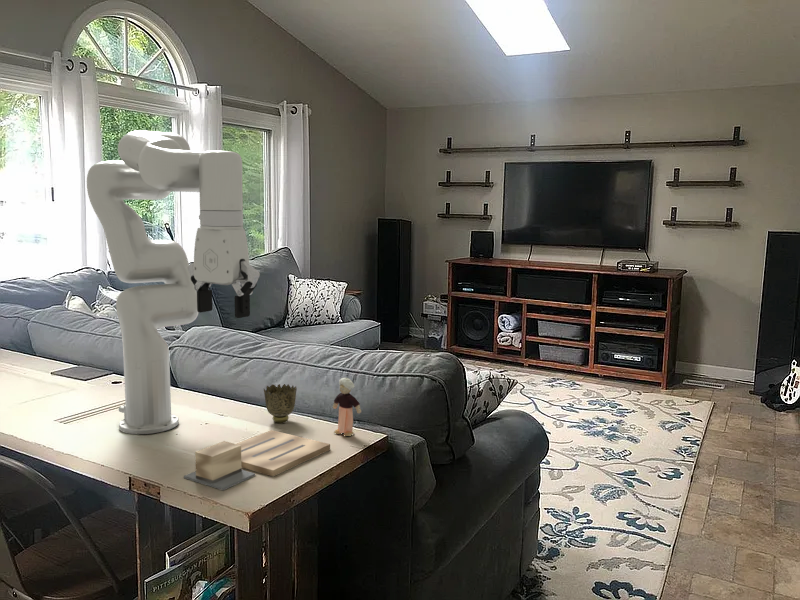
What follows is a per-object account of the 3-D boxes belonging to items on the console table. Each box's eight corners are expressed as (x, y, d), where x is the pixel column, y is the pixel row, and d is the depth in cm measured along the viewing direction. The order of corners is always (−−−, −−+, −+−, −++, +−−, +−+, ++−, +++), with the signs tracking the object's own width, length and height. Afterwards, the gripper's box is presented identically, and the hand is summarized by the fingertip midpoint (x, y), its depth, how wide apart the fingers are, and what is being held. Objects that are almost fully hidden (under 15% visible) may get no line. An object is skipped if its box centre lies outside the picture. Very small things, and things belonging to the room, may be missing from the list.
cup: (290, 427, 156) (289, 392, 155) (259, 425, 158) (258, 390, 157) (301, 417, 164) (301, 384, 162) (271, 415, 165) (271, 382, 164)
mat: (183, 477, 127) (183, 475, 127) (216, 464, 134) (216, 462, 134) (222, 490, 122) (222, 488, 122) (255, 475, 129) (255, 473, 128)
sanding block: (195, 478, 126) (195, 451, 125) (224, 466, 132) (224, 440, 131) (213, 483, 124) (212, 456, 123) (241, 471, 130) (241, 445, 129)
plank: (211, 458, 137) (211, 453, 136) (271, 435, 151) (271, 429, 151) (273, 476, 128) (272, 470, 128) (330, 449, 142) (330, 444, 142)
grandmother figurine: (326, 434, 152) (326, 377, 150) (334, 429, 155) (334, 374, 154) (357, 439, 149) (357, 381, 147) (365, 434, 152) (366, 377, 151)
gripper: (172, 219, 127) (175, 312, 130) (241, 222, 118) (242, 322, 121) (204, 218, 134) (206, 307, 136) (271, 222, 124) (272, 316, 127)
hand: (223, 314), depth 128 cm, fingers open, 9 cm apart
